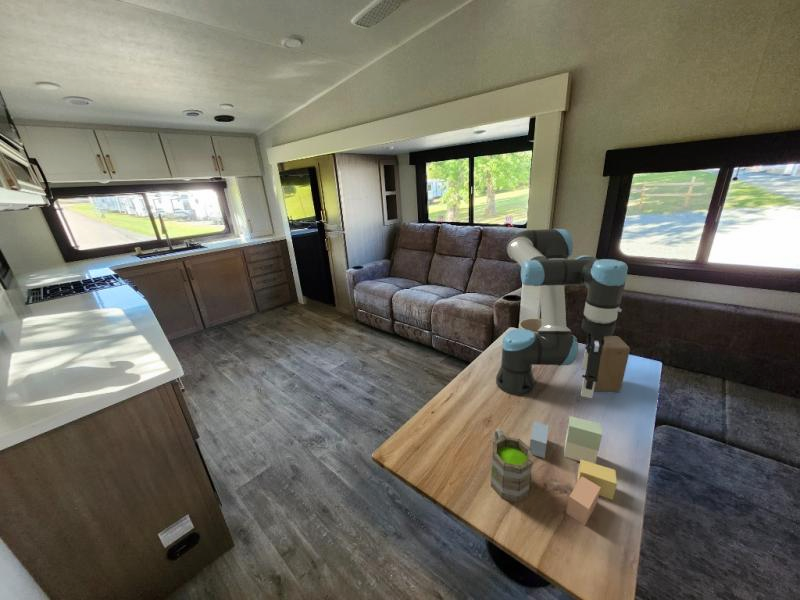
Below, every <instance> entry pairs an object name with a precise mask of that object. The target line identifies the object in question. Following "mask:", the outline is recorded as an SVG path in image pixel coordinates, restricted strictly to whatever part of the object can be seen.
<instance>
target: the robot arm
mask: <svg viewBox="0 0 800 600" xmlns="http://www.w3.org/2000/svg"><path fill="white" fill-rule="evenodd" d="M505 250H506V253H507V255H508V257H509V258H510V259H511V260H513V261H515V262H517V264H518V265H519V266H520V267H521V268H520V279H521V283H522V284H523V285H524V286H527V287H528V286H529V287H531V286H533V287H540V288H539V290H540V308H541V309H540V311H541V313H540V314H541V317H540V319H542V326H541V328H540V329H539V330H538V335H535V334H534V333H533V332H532V331H530V330H526V329H519V328H516V329H513V330H512V329H511V330H510V331H508V332H506V333H504V336H503V337H502V343H501V348H502V351H501V365H500V367H499V369H498V371H497V374H496V375H495V376H496V377H495V384H496V385H497V387H498V388H499V389H500V390H501V391H503V392H505V393H507V394H510V395H514V396H526V395H529V394H531V393H532V392H533V391H535V388H536V386H535V385H536V381H535V377H534V373H533V371H532V370H533V365H534V366H535V365H537V366H557V367H562V366H571V365H572V364H573V363H574V362H575V361H576V359H577V356H578V354H579V353H578V352H579V343H578V339H577V337H576V336H575V335H573V334H572V331H571V329H570V328H569V327H567V319H566V318H567V316H566V315H567V314H566V299H565V297H566V295H565V286H584V287H585V288H586V289H587V295H586V299H585V303H584V304H585V305H584V309H583V315H584V316H583V317H582V320H581V321H582V322H581V329H582V330H583V332H586V334H587V335H586V341H585V345H586V346H585V350H584V355H583V359H582V364H581V370H586V375H585V374H582V375H581V378H583V381H582V386H581V387H582V388H581V392H580V396H581V397H584V398H589V399H593V396H594V392H595V391H594V388H595V383H596V382H597V381H598V379H597V378H598V371H599V365H600V358H601V354H602V348H603V345H604V340H603V339H604V336H613V334H614V332H615V329H616V325H617V318H618V315H619V313H621V312H622V308H620V305H621V301H622V298H623V294H624V290H625V286H626V282H627V281H628V275H627V274H628V271H629V267H628V265H627V263H626V262H624V261H621V260H617V259H610V258H602V259H599V258H597V257H594V256H591V255H587V254H585V255H579V256H578V257H575V258H571V259H569V258H570V257H572V255H573V250H574V243H573V237H572V236H571V234H570V232H569V231H568V230H567V229H565V228H551V229H548V228H547V229H527V230H522V231H520V232H517V233H515V234H513V235H512V236H511V237H510V238H509V240H507V243H506V249H505Z"/></svg>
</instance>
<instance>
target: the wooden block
mask: <svg viewBox="0 0 800 600" xmlns="http://www.w3.org/2000/svg"><path fill="white" fill-rule="evenodd" d="M603 340H604V345H603V348H602V354H601V358H600V365H599V371H598V378H597V379H598V381H597V382H596V383H595V388H594V392H610V393H620V392H621V389H622V386H623V382H624V377H625V372H626V368H627V365H628V361H629V355H630V353H631V347H630V346H629V345H627V343H626V342H625V341H624V340H623V339H622V338H621V337H620V336H617V335H610V336H604V339H603ZM584 375H586V370H585V372H584Z"/></svg>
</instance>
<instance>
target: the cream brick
mask: <svg viewBox="0 0 800 600" xmlns="http://www.w3.org/2000/svg"><path fill="white" fill-rule="evenodd" d="M563 449H564V450H563V457H564V458H567V459H568V458H569V459H571V460H574V461H577V462H580V460H581V459H582V460H585V461H588V462H591V463H594V464H597V463H596V462H597V459H598V453H599V451H597V450H593V449H590V448H587V447H583V446H580V445H576V444H573V443H570V442H567V434H566V436H565V442H564V448H563Z"/></svg>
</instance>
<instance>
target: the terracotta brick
mask: <svg viewBox="0 0 800 600" xmlns="http://www.w3.org/2000/svg"><path fill="white" fill-rule="evenodd" d="M600 489H601V487H600V486H598V485H596V484H594V483H593V482H591V481H589V480H588V479H586V478H584V477H583V476H582V477H581V478H580V480H579V482H578V481H577V483H576V485H575V486H574V487H573V490H572V492H571V493H570V494H569V497H568V502H567V507H566V511H565V513H566V514H567V515H569V516H570V517H572V518H573V519H575V520H576V521H577V522H579V523H580V524H582V525H583V526H586V525H587V523H588V521H589V519H590V517H591V515H592V513H593V512H594V510H595V508H596V506H597V504H598V500H599V496H600V495H599V493H600Z"/></svg>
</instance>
